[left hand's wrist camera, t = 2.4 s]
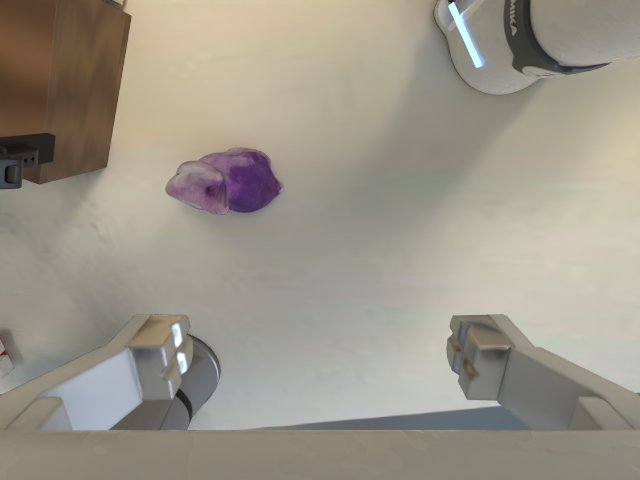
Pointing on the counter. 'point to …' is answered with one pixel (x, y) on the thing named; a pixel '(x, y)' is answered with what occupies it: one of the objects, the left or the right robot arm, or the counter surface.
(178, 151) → the counter surface
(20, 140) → the right robot arm
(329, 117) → the counter surface
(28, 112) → the cabinet
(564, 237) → the counter surface
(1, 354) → the toy
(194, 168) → the figurine
